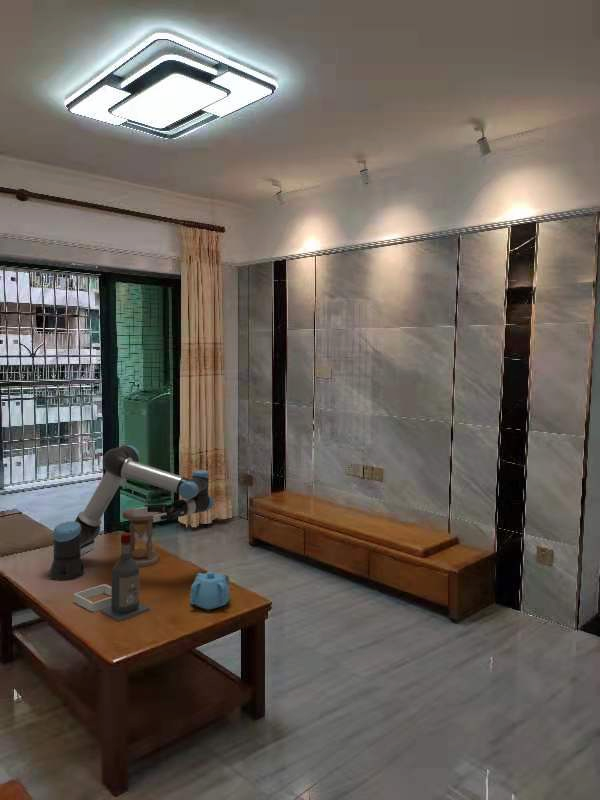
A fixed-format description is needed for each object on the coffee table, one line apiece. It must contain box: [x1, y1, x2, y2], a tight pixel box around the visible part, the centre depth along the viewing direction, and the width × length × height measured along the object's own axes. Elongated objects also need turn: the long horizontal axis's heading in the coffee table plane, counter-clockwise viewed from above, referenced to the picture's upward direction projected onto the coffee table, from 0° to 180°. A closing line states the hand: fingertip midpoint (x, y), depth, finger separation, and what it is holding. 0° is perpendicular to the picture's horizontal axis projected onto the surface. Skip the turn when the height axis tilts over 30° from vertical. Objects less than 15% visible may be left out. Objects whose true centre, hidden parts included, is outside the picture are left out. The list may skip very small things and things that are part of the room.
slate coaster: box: [99, 602, 151, 623], centre depth 231 cm, size 13×14×1 cm
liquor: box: [111, 532, 140, 614], centre depth 230 cm, size 9×9×30 cm
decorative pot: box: [189, 571, 231, 610], centre depth 239 cm, size 16×16×14 cm
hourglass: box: [122, 507, 160, 568], centre depth 288 cm, size 18×18×25 cm
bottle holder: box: [73, 583, 112, 613], centre depth 239 cm, size 15×15×4 cm
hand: (143, 515), depth 246 cm, fingers open, 13 cm apart
